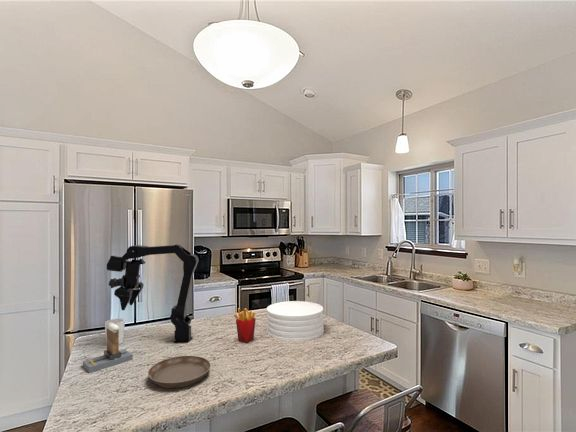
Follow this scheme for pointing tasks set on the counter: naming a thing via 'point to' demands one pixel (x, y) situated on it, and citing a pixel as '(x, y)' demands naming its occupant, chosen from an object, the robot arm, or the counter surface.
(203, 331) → the counter surface
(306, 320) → the plate stack
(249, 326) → the french fries
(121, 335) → the white cup
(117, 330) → the slide lever
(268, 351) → the counter surface
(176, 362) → the plant saucer
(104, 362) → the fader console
